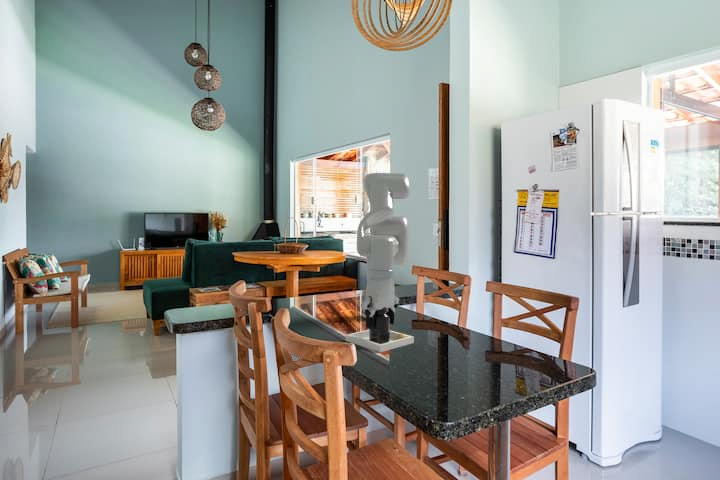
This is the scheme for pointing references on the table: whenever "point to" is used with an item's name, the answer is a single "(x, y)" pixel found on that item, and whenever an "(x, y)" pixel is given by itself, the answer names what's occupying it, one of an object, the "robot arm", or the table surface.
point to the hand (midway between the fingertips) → (380, 325)
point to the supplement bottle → (380, 327)
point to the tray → (363, 340)
